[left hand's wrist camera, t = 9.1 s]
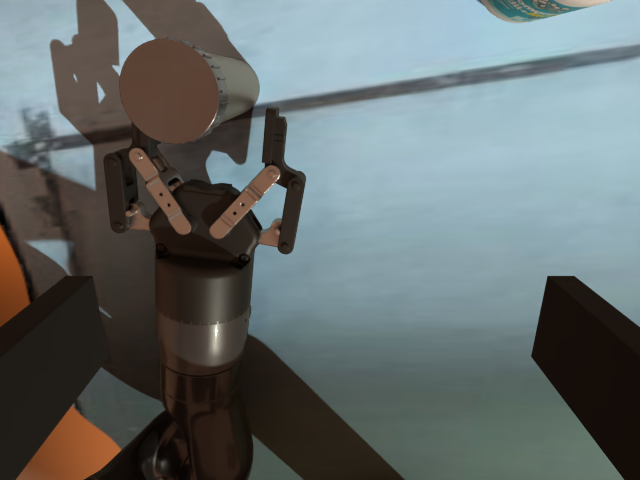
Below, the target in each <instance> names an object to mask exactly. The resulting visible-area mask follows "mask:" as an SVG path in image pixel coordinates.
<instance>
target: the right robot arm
mask: <svg viewBox="0 0 640 480" xmlns="http://www.w3.org/2000/svg"><path fill="white" fill-rule="evenodd" d="M286 132H287V122H286V118H285V117H280V116H279V108H278V107H270V106H269V107H267V109H266V117H265V129H264V142H263V155H262V162H263V163H265V167H264V168H263V169H262V171H261V172H260V173H259V174H258V175H257V176H256V177H255V178H254V179H253V180H252V181H251V182H250V183H249V184H248V185H247V186H246V187H245V188H244V189H243V190H242V191H241V193H240V192H239V191H238V190H237V189H236V188H234V187H232V184H226V183H219V184H209V183H207V182H204V181H202V180H194V179H191V180H190V181H187V182H184V181H183V180H182V178H181V177H180V175H179V174H178V172H177V171H176V170H175V169H174V168H173V167H171V166H170V165H169V164H168V162H167V161H166V159H165V158H164V157H163V155H162V154H161V152H160V151H159V149H158V148H157V144H160V143H161V142H160V141H157V140H155V139H153V138H151V137H149V136H147V135H146V134H144V133H143V132H142V131H141V130H140V129H138V128H137V127H136V126H135V124H134V123H133V122H132V144H131V146H130V147H129V148H124V149H121V150H119V151H116V152H113V153H110V154H107V155H106V156H105V157H104V169H105V178H106V187H107V196H108V205H109V214H110V223H111V228H112V230H113V231H114V232H116V233H120V234H121V233H124V232H125V231H127V230H129V229H135V230H150V231H151V233H152V235H153V237H154V239H155V242H156V251H155V291H156V335H157V341H158V347H159V387H160V396H161V400H162V404H163V406H164V408H165V411H163V412H162V413H160V414H159V415H158V416H157V417H156V418H155V419H154V420H152V421H151V422H150V423H149V424H148V425H147V426H146V427H145V428H144V429H143V430H142V431H141V432H140V433H139V434H138V435H137V436H136V437H135V438H134V439H133V440H132V441H131V442H130V443H129V444H128V445H127V446H126V447H124V448H123V449H122V450H121V451H120V452H119V453H118V454H117V455H116V456H115V457H114V458H113V459H112V460H111V461H110V462H109V463H108V464H107V465H106V466H105V467H103V468H102V469H101V470H100V471H98V472H97V473H95V474H93V475H91V476H89V477H88V478H86V479H84V480H159V479H162V480H248V478H249V475H250V472H251V468H252V462H253V440H252V434H251V428H250V424H249V419H248V414H247V410H246V405H245V401H244V398H243V394H242V391H241V378H242V365H243V351H244V346H245V341H246V338H247V333H248V325H249V318H250V315H251V305H250V301H251V288H252V276H253V263H254V252H255V248H256V247H257V245H258V244H263V245H268V246H274V247H278V250H279V251H280V252H281V253H282V254H289V253H291V252H292V251H293V248H294V243H295V237H296V232H297V226H298V221H299V215H300V210H301V204H302V199H303V193H304V187H305V182H306V176H305V174H304V173H303V172H301V171H296V170H294V169H292V168H290V167H289V166H287V165H286V163H285V161H284V153H285V142H286ZM136 169H137V170H138V171H139V173H140V174H141V176H142V177H143V178H144V180H145V185H146V188H147V189H148V191H149V192H150V193H151V195H152V196H153V197H154V199H155V200H156V202H157V203H158V204H159V206H160V207H159V208H158V209H157V210H156V212H155V213H154V214H153V215H150V214H149V213H148V212H147V211H146V209H145V205H144V204H143V203H142V202H141V201H139V200H138V188H137V176H136ZM275 183H277V184H279V185H281V186H283V187H285V188H287V192H286V198H285V204H284V210H283V216H282V218H277V219H275V220H273V222H272V224H271V226H270V227H269V228H268V229H262V226H261V224H260V223H259V221H258V220H257V218H256V216H255V215H254V213H253V212H252V210H251V208H252V207H253V206H254V205H255V204H256V203H257V202H258V201H259V200H260V198H261V197H262V196H263V195H264V194H265V193H266V192H267V191H268V190H269V189H270V188H271V187H272V186H273V185H274V184H275ZM175 184H176V185H175Z"/></svg>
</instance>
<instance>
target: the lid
mask: <svg viewBox="0 0 640 480" xmlns="http://www.w3.org/2000/svg"><path fill="white" fill-rule="evenodd" d="M202 49H203V48H201V47H198V46H194V45H191V42H187V41H183V40H180V41H179V40H176V39H172V38H167V39H154V40H151V41H148V42H146V43H143V44H142V45H140V46H138V47H137V48H136V49H135V50H134V51H132V53H131V54H130V55H129V56H128V58H127V59H126V61H125V63H124V65H123V67H122V70H121V74H120V81H119V89H120V96H121V100H122V104H123V106H124V109H125V111H126V113H127V115H128V116H129V118H130V119H131V121H132V122H133V123H134V124H135V126H136V127H137V128H138V129H140V130H141V131H142V132H143V133H144V134H146V135H147V136H149V137H151V138H153V139H155V140H157V141H160V142H163V143H168V144H185V143H187V142H190V141H193V142H195V141H197V140H199V139H201V138H203V137H202V136H206V135H208V134H210V133H212V130H213V129H214V128H215V127H217V126H219V125H220V121H221V120H222V118H223V116H225V115H226V114H225V111H226V107H227V104H229V102H228V92H229V90H227V84H226V81H225V80H226V77H224V75H223V73H222V71H221V69H220V68H221V66H220V65H218V64H217V63H216V62H215V60H214V59H213V58H212V57H213V56H212V55H209V54H207V53H206V52H205V51H203V50H202Z"/></svg>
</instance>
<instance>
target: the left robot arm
mask: <svg viewBox="0 0 640 480" xmlns="http://www.w3.org/2000/svg"><path fill="white" fill-rule="evenodd" d="M108 357H109V355H108V350H107V346H106V341H105V336H104V331H103V326H102V321H101V316H100V311H99V306H98V301H97V296H96V292H95V287H94V282H93V277H92V276H65V277H64V278H63V279H61V280H60V281H59V282H58V283H56V284H55V285H54V286H52V287H51V288H50V289H49V290H47V291H46V292H45V293H43V294H42V295H41V296H40V297H38V298H37V299H36V300H35V301H33V302H32V303H31V304H29V305H28V306H27V307H26V308H24V309H23V310H22V311H21V312H19V313H18V314H17V315H15V316H14V317H13V318H12V319H10V320H9V321H8V322H6V323H5V324H4V325H3V326H1V327H0V480H16V478H17V477H18V476H19V474H20V473H21V472H22V471H23V469H24V468H25V467H26V465H27V464H28V463H29V461H30V460H31V459H32V457H33V456H34V455H35V453H36V452H37V451H38V449H39V448H40V447H41V445H42V444H43V443H44V441H45V440H46V439H47V437H48V436H49V435H50V434H51V432H52V431H53V430H54V428H55V427H56V426H57V424H58V423H59V422H60V420H61V419H62V418H63V416H64V415H65V414H66V412H67V411H68V410H69V408H70V407H71V406H72V404H73V403H74V402H75V400H76V399H77V398H78V397H79V395H80V394H81V393H82V391H83V390H84V389H85V387H86V386H87V385H88V383H89V382H90V381H91V379H92V378H93V377H94V375H95V374H96V373H97V371H98V370H99V369H100V367H101V366H102V365H103V364H104V362H105V361H106V360H107V358H108ZM531 357H532V358H533V360H534V361H535V362H536V364H537V365H538V366H539V367H540V369H541V370H542V371H543V373H544V374H545V375H546V377H547V378H548V379H549V381H550V382H551V383H552V385H553V386H554V387H555V389H556V390H557V391H558V393H559V394H560V395H561V397H562V398H563V399H564V401H565V402H566V403H567V404H568V406H569V407H570V408H571V410H572V411H573V412H574V414H575V415H576V416H577V418H578V419H579V420H580V422H581V423H582V424H583V426H584V427H585V428H586V430H587V431H588V432H589V434H590V435H591V436H592V437H593V439H594V440H595V441H596V443H597V444H598V445H599V447H600V448H601V449H602V451H603V452H604V453H605V455H606V456H607V457H608V459H609V460H610V461H611V463H612V464H613V465H614V467H615V468H616V469H617V471H618V472H619V473H620V474H621V476H622V477H623V478H624V480H640V327H639V326H637V325H636V324H635V323H634V322H632V321H631V320H630V319H629V318H627V317H626V316H625V315H623V314H622V313H621V312H620V311H618V310H617V309H616V308H614V307H613V306H612V305H611V304H609V303H608V302H607V301H605V300H604V299H603V298H602V297H600V296H599V295H598V294H597V293H595V292H594V291H593V290H591V289H590V288H589V287H588V286H586V285H585V284H584V283H582V282H581V281H580V280H579V279H577V278H576V277H575V276H548V277H547V282H546V287H545V292H544V296H543V301H542V306H541V311H540V316H539V321H538V326H537V331H536V336H535V341H534V346H533V350H532V355H531Z"/></svg>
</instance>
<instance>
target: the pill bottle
mask: <svg viewBox="0 0 640 480" xmlns="http://www.w3.org/2000/svg"><path fill="white" fill-rule="evenodd" d="M481 1H482V3H483V4H484V6H485V7H486V8H487V10H488V11H489V12H490V13H492V14H493V15H494V16H496V17H497V18H499V19H501V20H504V21H507V22H511V23H526V22H531V21H535V20H539V19H544V18H548V17H552V16H556V15H559V14H563V13H567V12H571V11H575V10H579V9H583V8H587V7H591V6H595V5H599V4H603V3H606V2H609V1H612V0H481Z"/></svg>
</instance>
